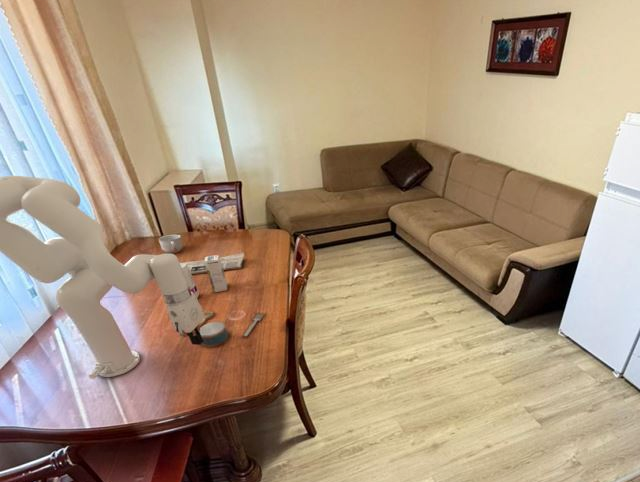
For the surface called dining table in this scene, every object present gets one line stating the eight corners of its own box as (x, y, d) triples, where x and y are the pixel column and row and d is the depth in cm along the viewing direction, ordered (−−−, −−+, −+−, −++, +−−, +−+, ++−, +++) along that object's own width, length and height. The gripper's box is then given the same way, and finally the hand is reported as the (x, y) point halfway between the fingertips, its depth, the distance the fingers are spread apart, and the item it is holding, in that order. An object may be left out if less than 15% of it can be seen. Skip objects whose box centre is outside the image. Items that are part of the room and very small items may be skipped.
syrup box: (214, 287, 170) (204, 256, 162) (228, 284, 172) (218, 254, 164) (213, 293, 166) (203, 262, 158) (228, 290, 167) (218, 259, 159)
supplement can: (192, 304, 159) (179, 271, 150) (174, 303, 161) (161, 270, 152) (203, 294, 165) (191, 262, 157) (186, 293, 167) (174, 261, 159)
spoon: (196, 334, 140) (195, 332, 139) (186, 334, 141) (185, 332, 140) (215, 313, 152) (214, 311, 151) (206, 313, 152) (205, 311, 152)
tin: (221, 347, 133) (217, 336, 130) (196, 346, 134) (192, 335, 131) (232, 332, 140) (229, 321, 137) (209, 331, 141) (205, 320, 139)
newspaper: (166, 278, 180) (163, 271, 178) (173, 267, 191) (170, 260, 189) (243, 268, 185) (241, 261, 183) (246, 257, 195) (244, 251, 193)
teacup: (163, 250, 210) (158, 236, 206) (184, 245, 214) (179, 231, 209) (163, 259, 200) (158, 244, 195) (186, 254, 203) (180, 240, 199)
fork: (248, 337, 137) (248, 335, 137) (241, 336, 137) (241, 335, 137) (264, 314, 149) (263, 313, 148) (257, 314, 149) (257, 313, 149)
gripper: (174, 308, 109) (196, 358, 120) (201, 282, 122) (219, 330, 132) (151, 307, 111) (174, 357, 121) (180, 282, 123) (199, 329, 133)
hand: (198, 343), depth 126 cm, fingers closed
